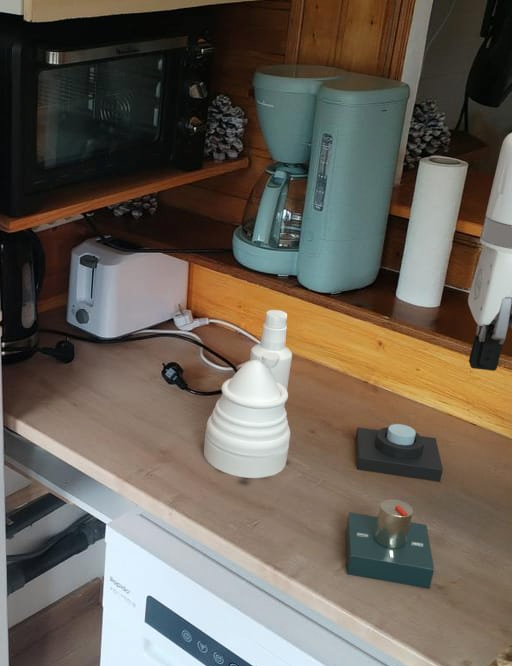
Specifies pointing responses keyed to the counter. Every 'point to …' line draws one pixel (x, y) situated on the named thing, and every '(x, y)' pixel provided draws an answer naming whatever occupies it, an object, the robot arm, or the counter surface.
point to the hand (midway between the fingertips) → (482, 366)
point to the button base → (397, 455)
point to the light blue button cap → (401, 434)
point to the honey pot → (250, 423)
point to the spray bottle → (275, 345)
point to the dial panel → (388, 553)
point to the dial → (393, 523)
